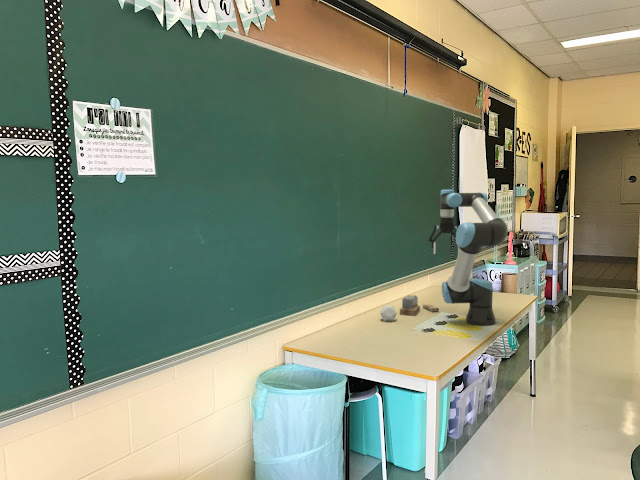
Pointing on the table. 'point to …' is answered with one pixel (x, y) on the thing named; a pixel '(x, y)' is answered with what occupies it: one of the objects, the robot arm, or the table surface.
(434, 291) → the table surface
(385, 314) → the die
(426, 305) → the felt eraser
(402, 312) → the plinth
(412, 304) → the block
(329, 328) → the table surface
